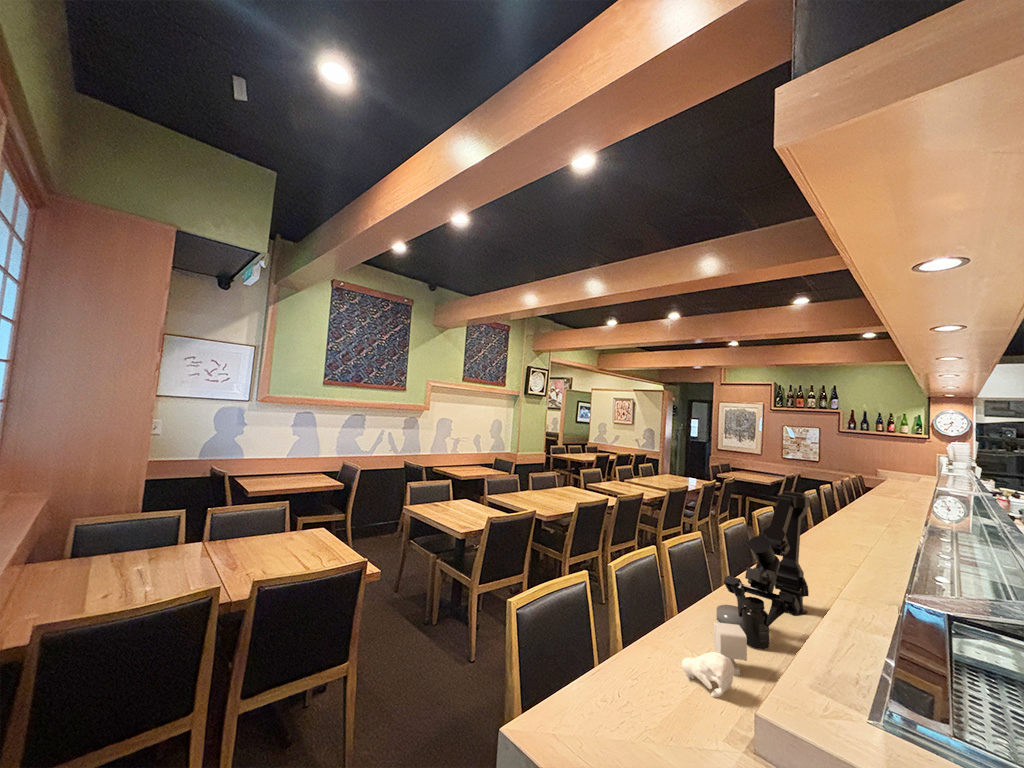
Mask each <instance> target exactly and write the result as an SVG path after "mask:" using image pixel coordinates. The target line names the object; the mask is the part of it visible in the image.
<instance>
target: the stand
mask: <svg viewBox="0 0 1024 768" xmlns="http://www.w3.org/2000/svg"><path fill="white" fill-rule="evenodd" d="M716 620H717V622H719V623H727V624H736V625H740V627H741V628H742V617H739V614H738V605H733V604H719V605H718V606H717V607H716Z"/></svg>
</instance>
